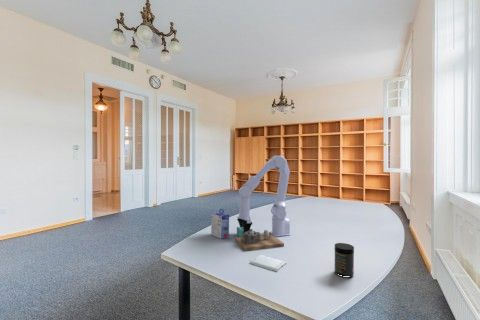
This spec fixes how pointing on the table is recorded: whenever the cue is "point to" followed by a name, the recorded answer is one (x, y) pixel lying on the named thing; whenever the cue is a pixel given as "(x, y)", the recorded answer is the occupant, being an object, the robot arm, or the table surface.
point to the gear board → (258, 241)
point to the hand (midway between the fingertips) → (244, 233)
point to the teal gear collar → (241, 231)
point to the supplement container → (344, 259)
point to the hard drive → (268, 262)
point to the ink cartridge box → (220, 225)
